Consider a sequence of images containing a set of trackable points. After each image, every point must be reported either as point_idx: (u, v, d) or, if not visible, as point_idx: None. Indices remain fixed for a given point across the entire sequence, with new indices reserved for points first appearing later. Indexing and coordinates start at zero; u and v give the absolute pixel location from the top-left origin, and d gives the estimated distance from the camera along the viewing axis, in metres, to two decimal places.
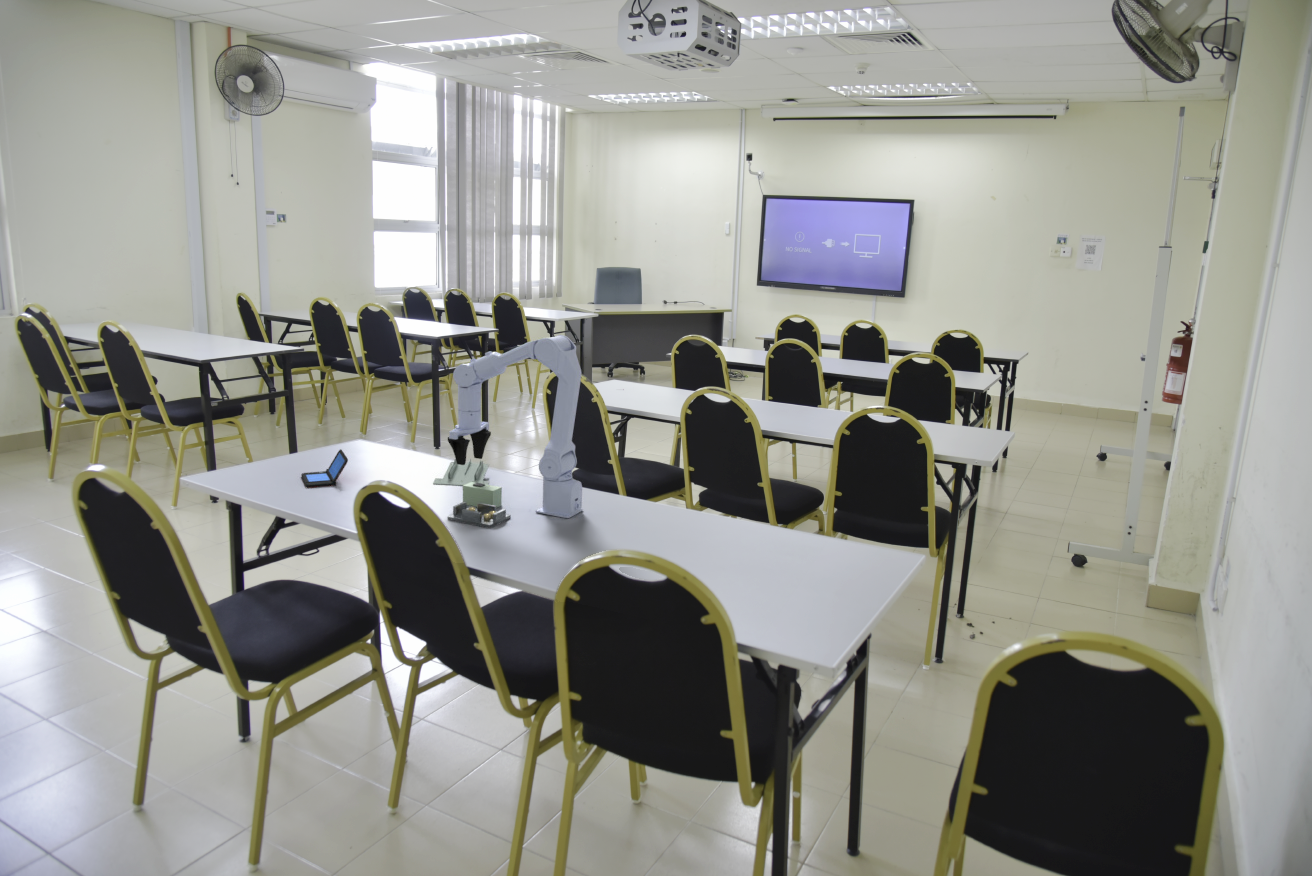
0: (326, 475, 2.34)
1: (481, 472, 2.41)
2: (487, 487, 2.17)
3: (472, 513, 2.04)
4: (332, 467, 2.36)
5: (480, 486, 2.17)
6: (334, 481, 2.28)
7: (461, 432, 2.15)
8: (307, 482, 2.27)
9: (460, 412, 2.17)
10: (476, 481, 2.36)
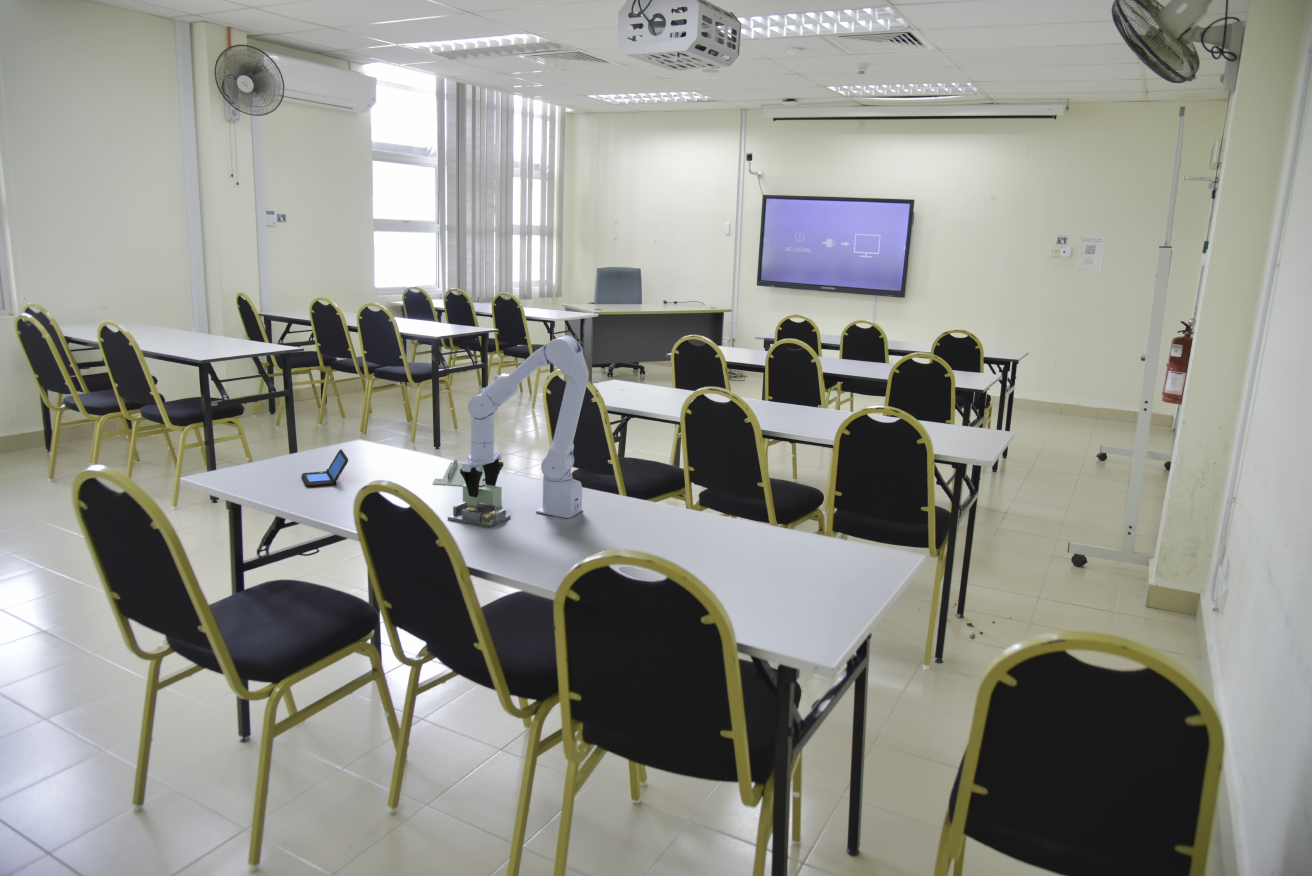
0: (326, 475, 2.34)
1: None
2: (487, 487, 2.17)
3: (472, 513, 2.04)
4: (332, 467, 2.36)
5: (480, 486, 2.17)
6: (334, 481, 2.28)
7: (474, 464, 2.11)
8: (307, 482, 2.27)
9: (473, 443, 2.13)
10: None
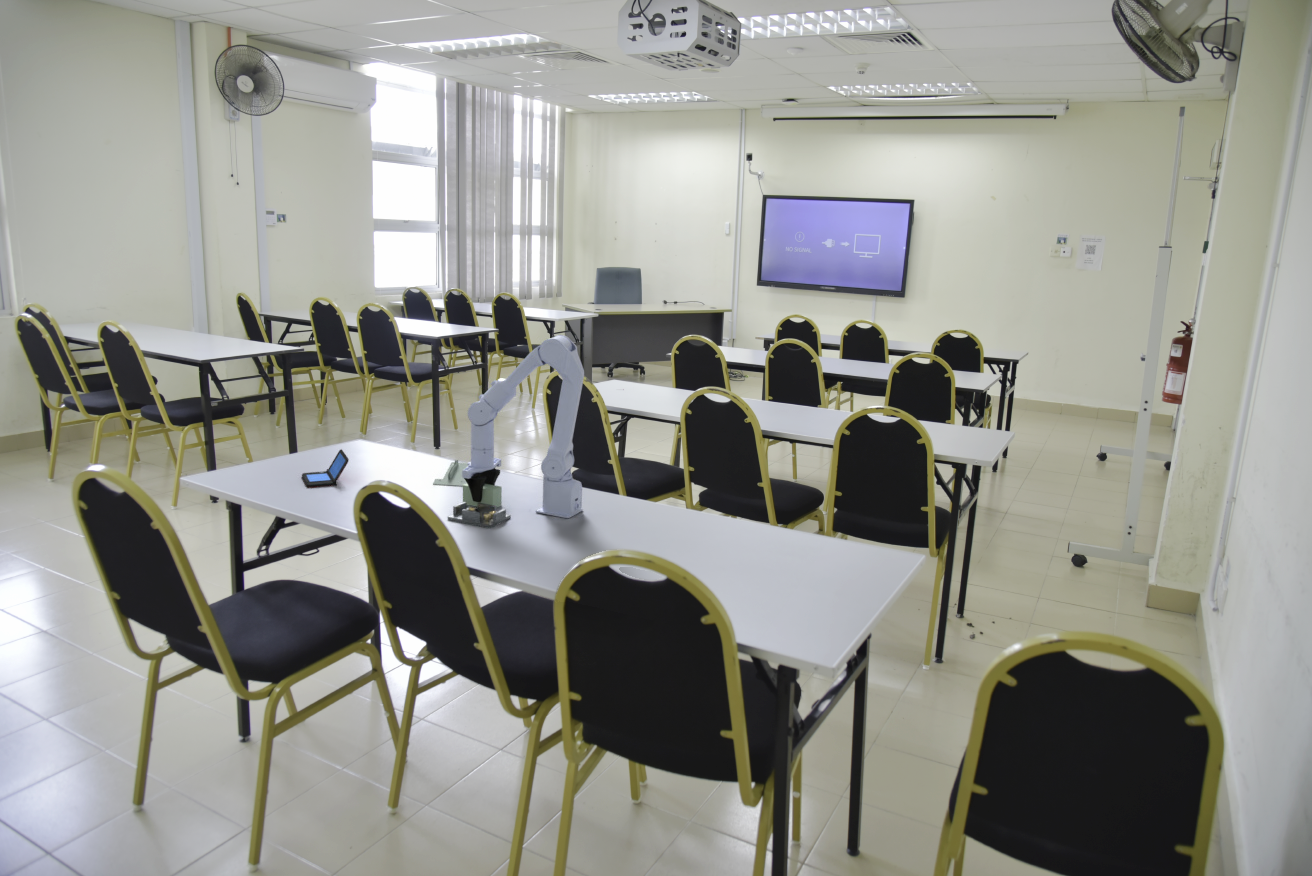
0: (327, 475, 2.34)
1: None
2: (487, 486, 2.17)
3: (472, 513, 2.04)
4: (333, 467, 2.36)
5: None
6: (335, 481, 2.28)
7: (474, 471, 2.11)
8: (308, 482, 2.27)
9: (473, 450, 2.14)
10: None
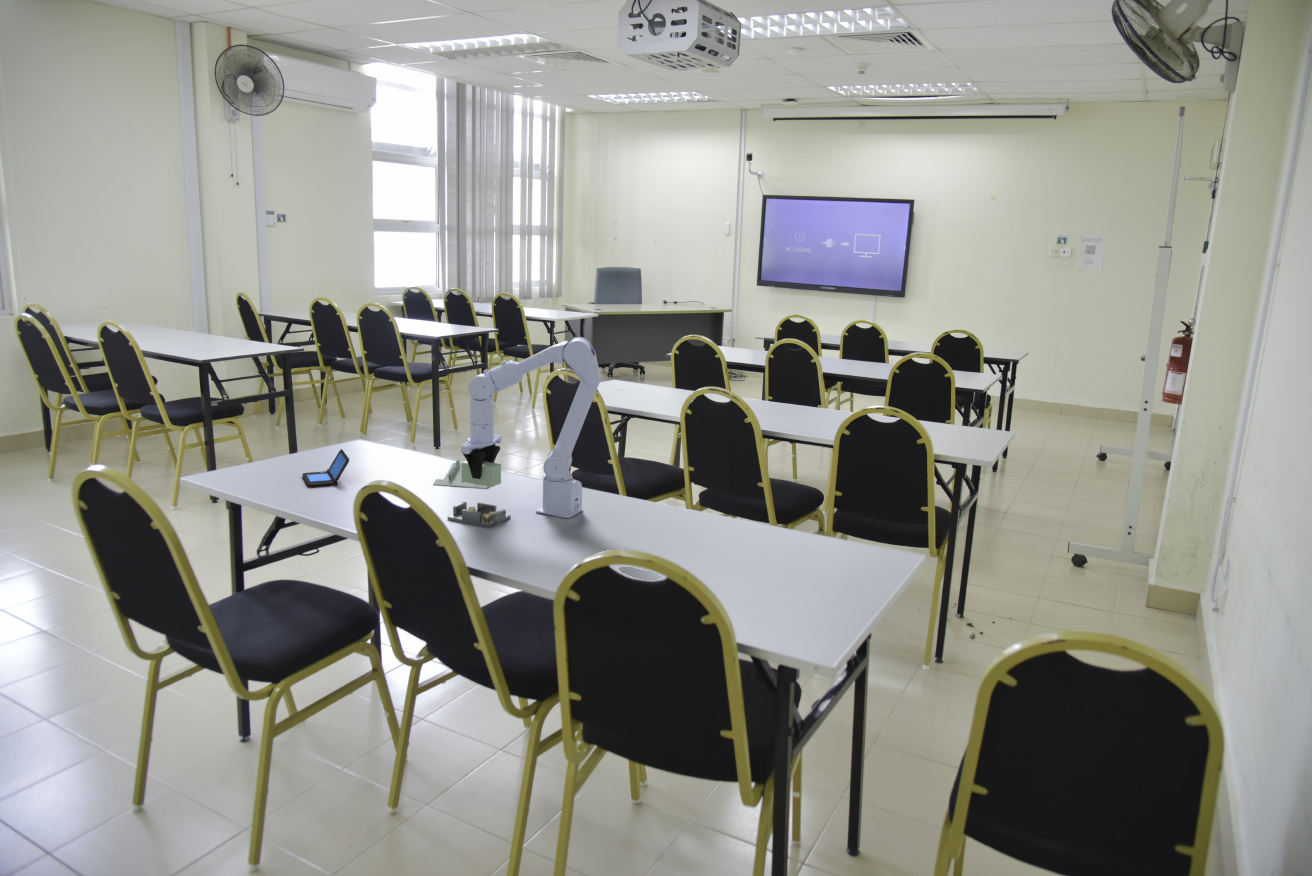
0: (327, 475, 2.34)
1: None
2: (486, 464, 2.13)
3: (472, 513, 2.04)
4: (333, 467, 2.36)
5: None
6: (335, 481, 2.29)
7: (473, 446, 2.07)
8: (308, 482, 2.27)
9: (472, 425, 2.09)
10: None
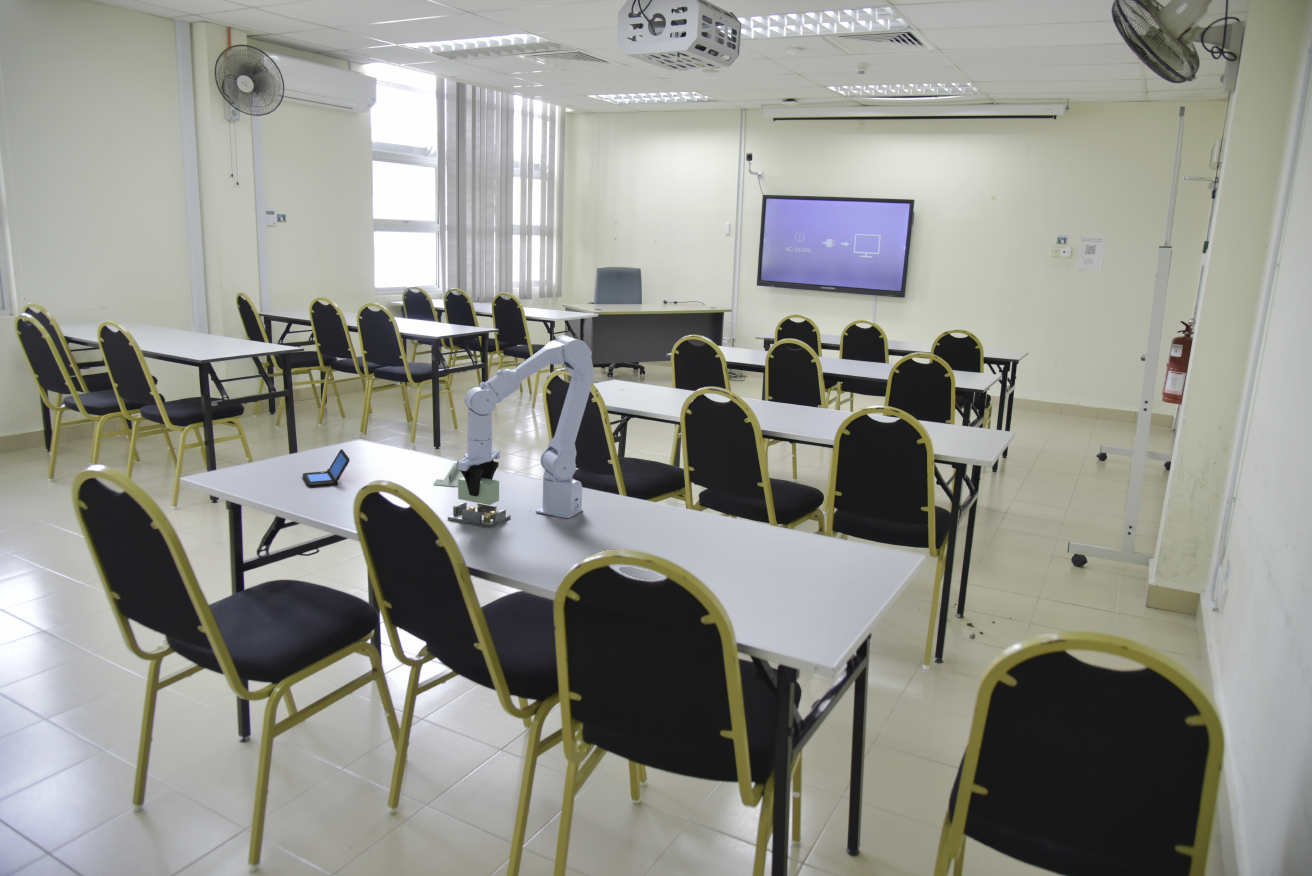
0: (327, 475, 2.35)
1: None
2: (484, 481, 2.05)
3: (472, 513, 2.04)
4: (333, 467, 2.36)
5: None
6: (336, 481, 2.29)
7: (471, 463, 1.99)
8: (309, 482, 2.27)
9: (470, 441, 2.01)
10: None
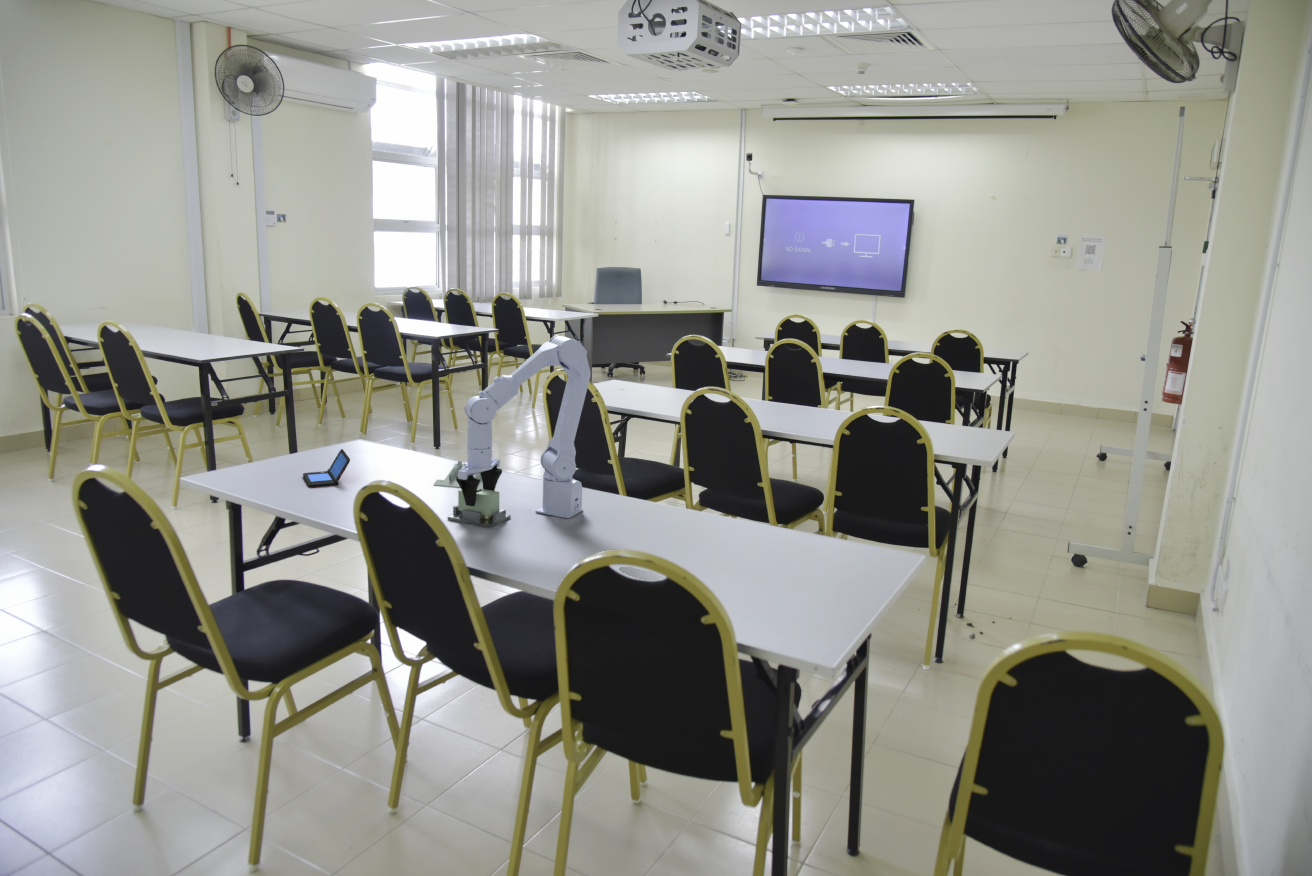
0: (328, 475, 2.35)
1: None
2: (484, 492, 2.05)
3: (472, 513, 2.04)
4: (334, 467, 2.36)
5: (477, 491, 2.05)
6: (336, 481, 2.29)
7: (471, 471, 1.99)
8: (309, 482, 2.28)
9: (470, 449, 2.02)
10: None
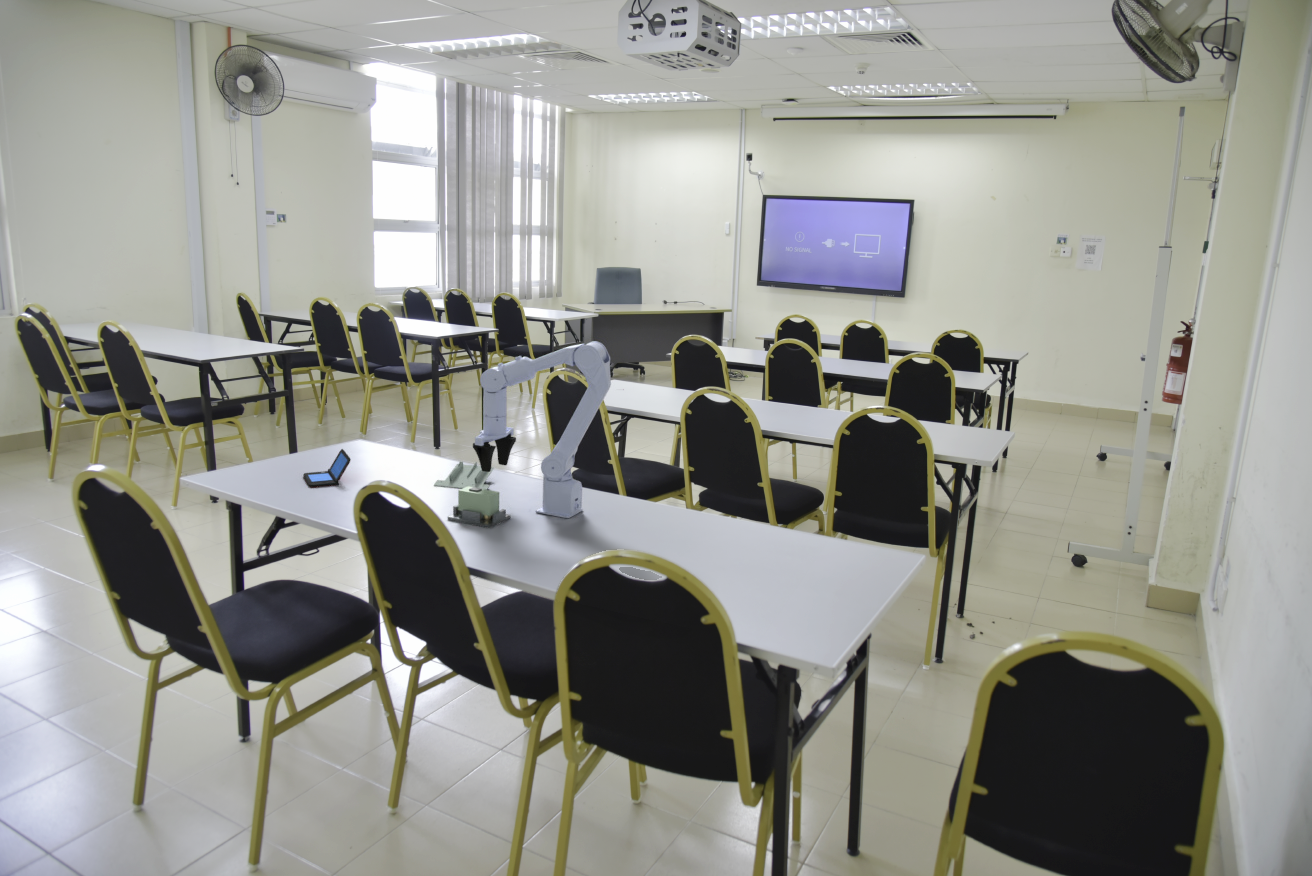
0: (328, 475, 2.35)
1: (484, 475, 2.37)
2: (484, 492, 2.05)
3: (472, 513, 2.04)
4: (334, 467, 2.36)
5: (477, 491, 2.05)
6: (337, 481, 2.29)
7: (487, 438, 2.09)
8: (310, 482, 2.28)
9: (485, 417, 2.11)
10: (476, 484, 2.33)
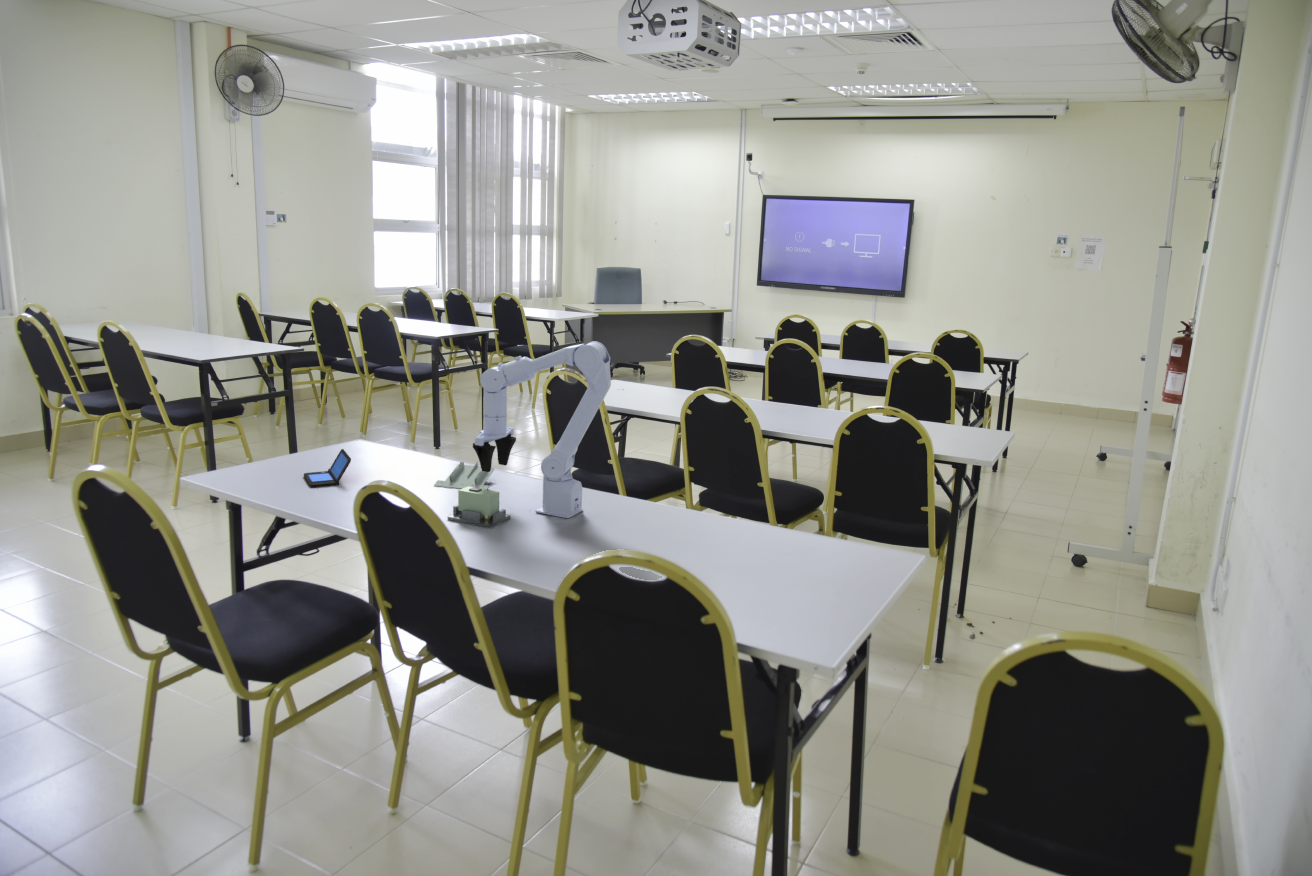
0: (329, 475, 2.35)
1: (484, 476, 2.37)
2: (484, 492, 2.05)
3: (472, 513, 2.04)
4: (334, 467, 2.36)
5: (477, 491, 2.05)
6: (337, 481, 2.29)
7: (487, 438, 2.09)
8: (310, 482, 2.28)
9: (485, 417, 2.11)
10: (476, 485, 2.32)
